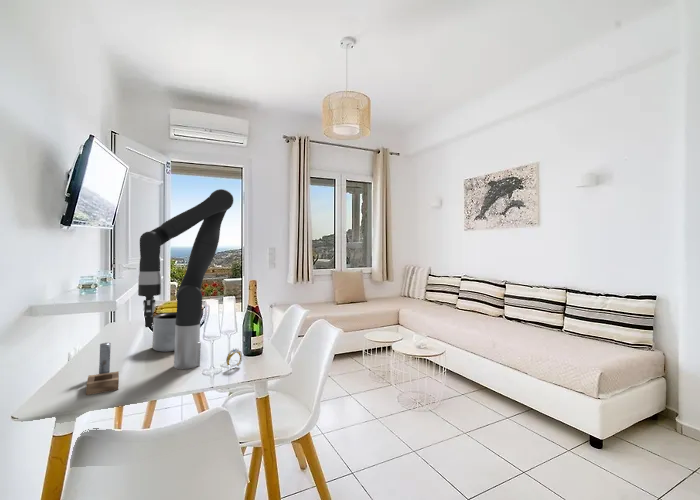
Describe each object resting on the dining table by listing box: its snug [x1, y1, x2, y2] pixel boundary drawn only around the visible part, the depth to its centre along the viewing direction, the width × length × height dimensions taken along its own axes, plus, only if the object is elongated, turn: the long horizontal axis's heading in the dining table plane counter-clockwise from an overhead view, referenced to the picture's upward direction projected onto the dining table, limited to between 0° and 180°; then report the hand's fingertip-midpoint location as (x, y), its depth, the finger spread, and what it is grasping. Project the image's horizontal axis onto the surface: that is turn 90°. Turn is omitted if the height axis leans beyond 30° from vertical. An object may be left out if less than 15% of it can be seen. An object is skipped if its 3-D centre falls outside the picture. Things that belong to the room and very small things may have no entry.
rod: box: [98, 342, 112, 374], centre depth 125 cm, size 3×3×12 cm
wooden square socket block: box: [85, 371, 120, 396], centre depth 115 cm, size 9×9×4 cm
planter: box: [151, 312, 177, 353], centre depth 163 cm, size 16×16×16 cm
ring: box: [225, 347, 244, 367], centre depth 138 cm, size 7×3×8 cm, turn 138°
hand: (149, 325), depth 131 cm, fingers open, 8 cm apart
